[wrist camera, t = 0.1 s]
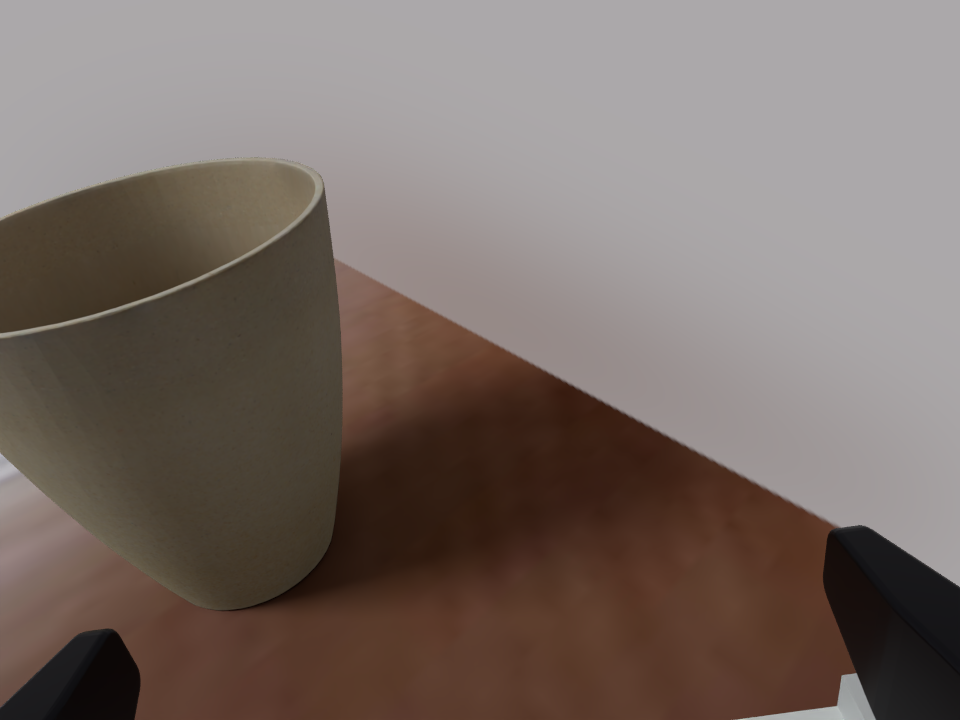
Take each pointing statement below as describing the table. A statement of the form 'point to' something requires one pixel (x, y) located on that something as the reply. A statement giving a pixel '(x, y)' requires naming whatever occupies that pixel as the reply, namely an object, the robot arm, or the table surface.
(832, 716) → the board
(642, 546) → the table surface
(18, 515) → the table surface
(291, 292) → the plant pot
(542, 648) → the table surface
